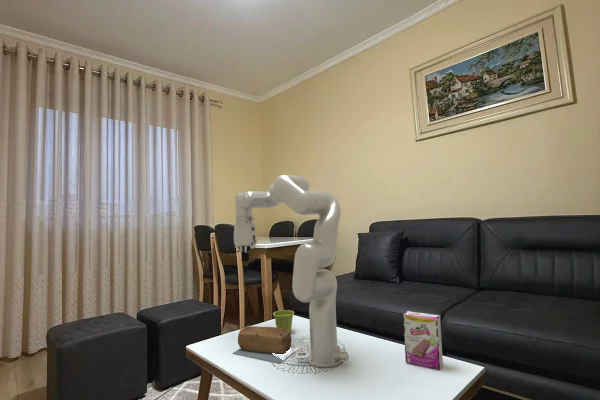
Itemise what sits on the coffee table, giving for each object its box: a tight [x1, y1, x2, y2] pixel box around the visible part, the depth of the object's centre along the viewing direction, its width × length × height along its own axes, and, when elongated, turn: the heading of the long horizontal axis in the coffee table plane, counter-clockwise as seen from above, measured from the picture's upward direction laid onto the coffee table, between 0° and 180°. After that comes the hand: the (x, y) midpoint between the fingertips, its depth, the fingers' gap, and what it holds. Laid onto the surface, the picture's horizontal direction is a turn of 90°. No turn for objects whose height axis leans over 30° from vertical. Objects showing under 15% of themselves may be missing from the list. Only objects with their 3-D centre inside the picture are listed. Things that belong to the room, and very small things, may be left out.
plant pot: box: [272, 309, 295, 333], centre depth 144 cm, size 9×9×9 cm
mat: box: [232, 347, 284, 365], centre depth 125 cm, size 22×14×1 cm, turn 61°
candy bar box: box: [402, 310, 444, 371], centre depth 109 cm, size 11×5×16 cm, turn 56°
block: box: [237, 325, 292, 354], centre depth 127 cm, size 11×8×20 cm
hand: (245, 261), depth 145 cm, fingers closed
